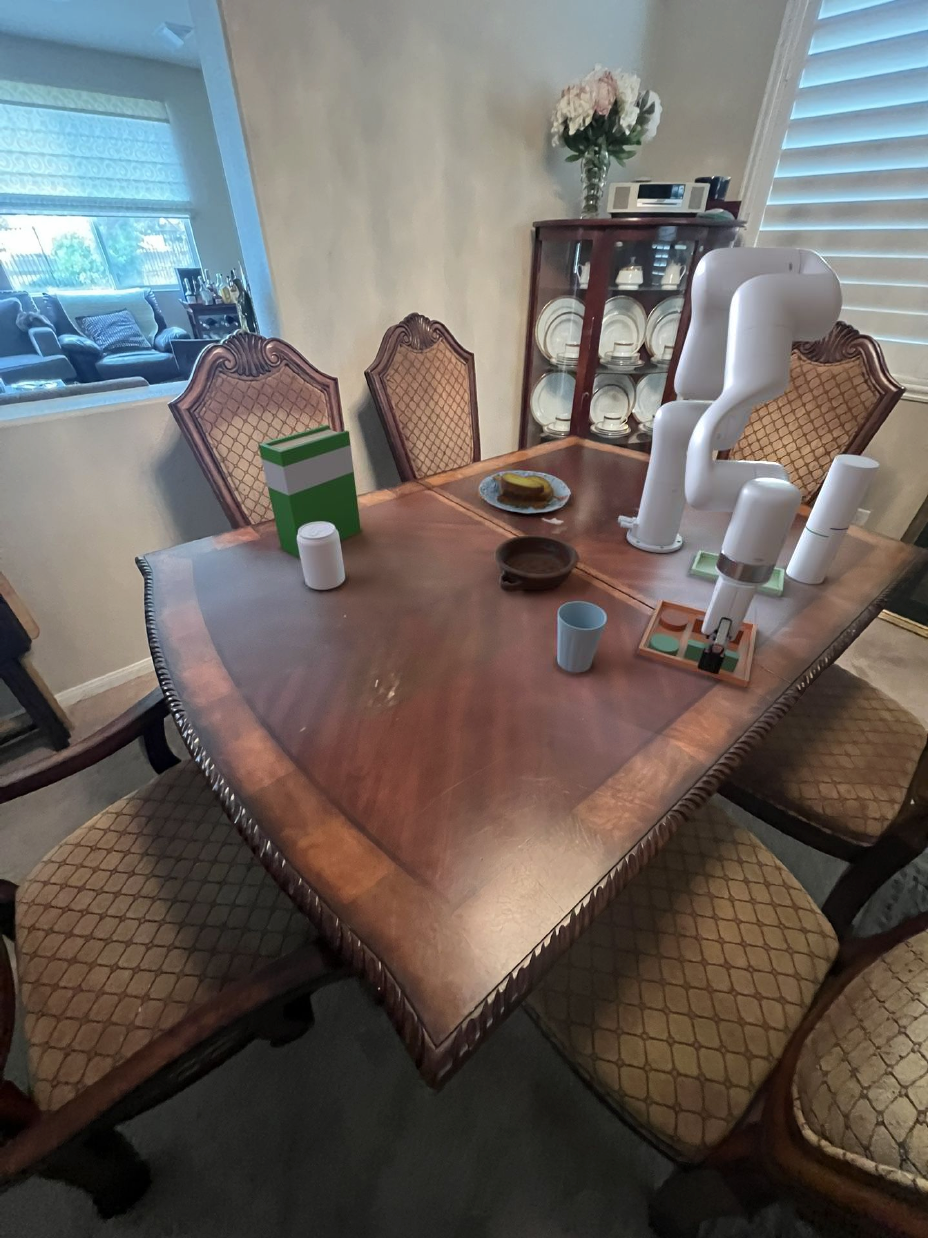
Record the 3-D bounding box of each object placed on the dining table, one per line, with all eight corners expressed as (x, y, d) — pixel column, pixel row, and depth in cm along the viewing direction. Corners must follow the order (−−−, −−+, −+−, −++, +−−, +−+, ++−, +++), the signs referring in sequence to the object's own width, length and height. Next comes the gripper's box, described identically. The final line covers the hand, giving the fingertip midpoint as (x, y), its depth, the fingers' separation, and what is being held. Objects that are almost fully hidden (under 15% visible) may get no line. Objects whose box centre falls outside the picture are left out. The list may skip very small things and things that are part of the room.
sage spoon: (646, 652, 91) (649, 638, 89) (652, 637, 94) (655, 623, 93) (732, 678, 86) (738, 665, 84) (735, 661, 89) (741, 648, 87)
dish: (594, 566, 116) (598, 545, 113) (544, 612, 102) (546, 590, 99) (526, 542, 124) (528, 523, 121) (471, 582, 110) (471, 561, 107)
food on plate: (573, 485, 153) (576, 463, 149) (566, 522, 133) (569, 498, 129) (487, 476, 157) (488, 455, 153) (468, 511, 138) (468, 488, 134)
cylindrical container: (828, 585, 110) (886, 469, 95) (791, 581, 111) (843, 465, 96) (817, 568, 116) (870, 455, 101) (782, 565, 117) (829, 453, 102)
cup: (589, 685, 85) (599, 634, 79) (544, 671, 88) (551, 620, 82) (601, 658, 91) (612, 609, 85) (559, 645, 93) (566, 596, 87)
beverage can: (353, 576, 112) (346, 525, 104) (330, 595, 106) (320, 542, 99) (322, 568, 114) (313, 517, 107) (297, 586, 108) (286, 533, 101)
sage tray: (689, 576, 113) (691, 568, 112) (696, 557, 119) (698, 549, 118) (779, 598, 106) (782, 590, 105) (781, 577, 113) (784, 569, 112)
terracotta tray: (636, 656, 91) (638, 647, 90) (657, 606, 104) (660, 598, 102) (744, 690, 85) (748, 681, 83) (754, 632, 97) (757, 624, 96)
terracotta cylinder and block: (656, 626, 97) (660, 613, 95) (661, 613, 100) (665, 600, 99) (737, 650, 92) (743, 636, 90) (740, 635, 95) (746, 622, 93)
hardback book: (340, 522, 132) (326, 424, 118) (360, 531, 129) (349, 431, 114) (281, 548, 121) (258, 444, 107) (301, 559, 117) (280, 452, 103)
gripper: (725, 534, 85) (696, 621, 96) (709, 585, 73) (678, 678, 83) (776, 545, 82) (741, 633, 93) (769, 600, 70) (729, 695, 80)
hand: (711, 654), depth 88 cm, fingers open, 8 cm apart
